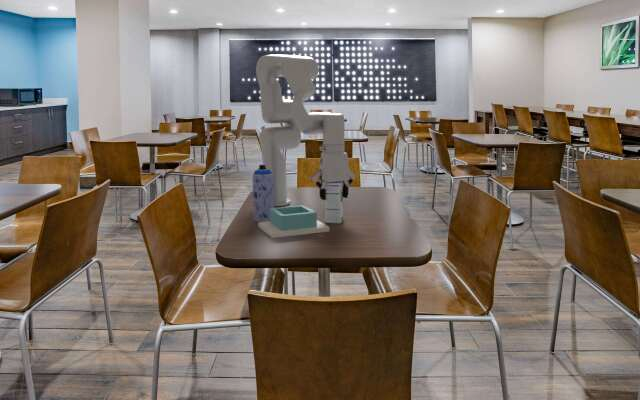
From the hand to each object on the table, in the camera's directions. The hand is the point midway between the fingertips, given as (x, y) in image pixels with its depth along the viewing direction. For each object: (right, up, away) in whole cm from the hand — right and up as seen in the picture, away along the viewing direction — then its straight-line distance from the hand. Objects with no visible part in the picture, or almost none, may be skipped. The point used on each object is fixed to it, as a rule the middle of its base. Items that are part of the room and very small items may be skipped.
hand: (334, 198), depth 192 cm
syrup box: (0, -8, +2) cm, 9 cm away
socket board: (-14, -11, -8) cm, 19 cm away
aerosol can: (-26, -8, +6) cm, 28 cm away
